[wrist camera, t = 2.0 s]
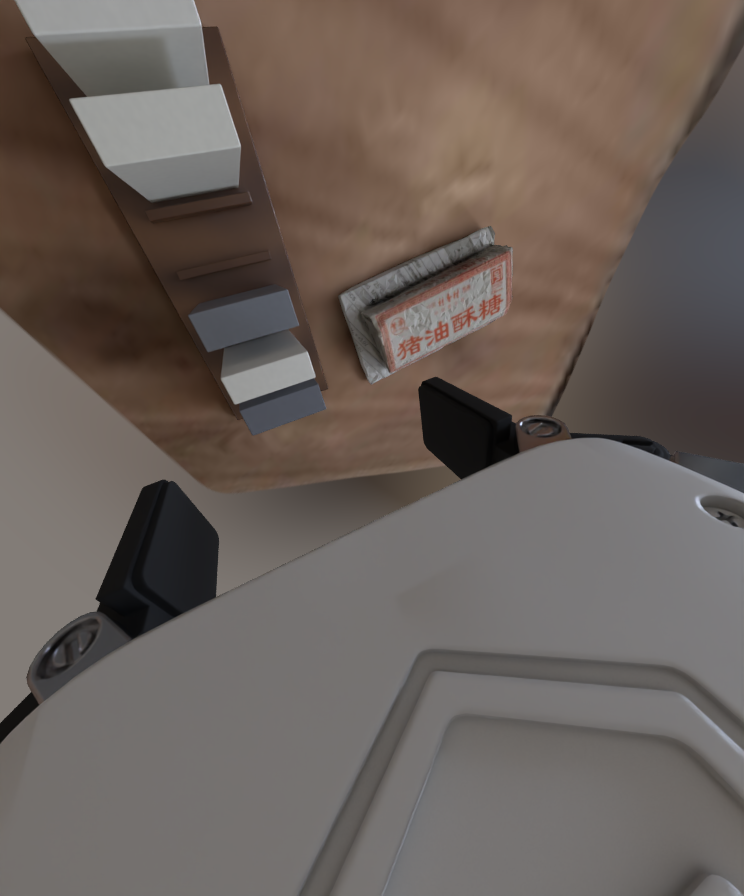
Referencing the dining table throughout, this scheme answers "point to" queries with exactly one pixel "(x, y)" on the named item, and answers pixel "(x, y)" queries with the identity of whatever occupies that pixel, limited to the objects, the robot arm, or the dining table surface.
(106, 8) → the white book
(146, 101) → the white book
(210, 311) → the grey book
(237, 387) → the white book
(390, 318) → the packaged product
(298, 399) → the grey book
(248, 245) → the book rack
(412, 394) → the dining table surface
